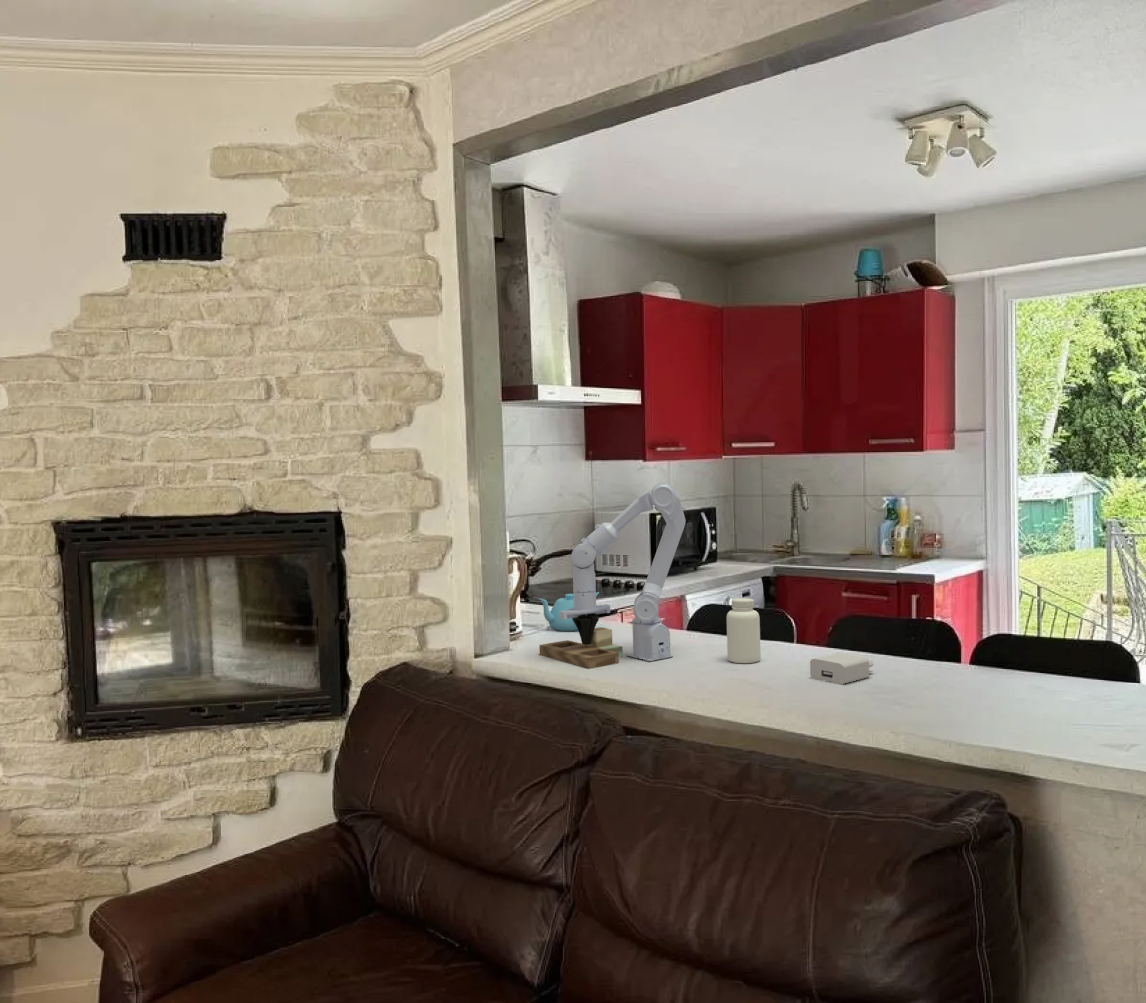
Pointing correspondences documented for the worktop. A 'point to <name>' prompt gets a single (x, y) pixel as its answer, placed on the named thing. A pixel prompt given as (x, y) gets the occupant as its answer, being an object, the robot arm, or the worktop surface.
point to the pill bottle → (743, 632)
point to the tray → (582, 653)
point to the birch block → (601, 637)
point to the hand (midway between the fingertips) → (586, 644)
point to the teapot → (554, 615)
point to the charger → (840, 668)
